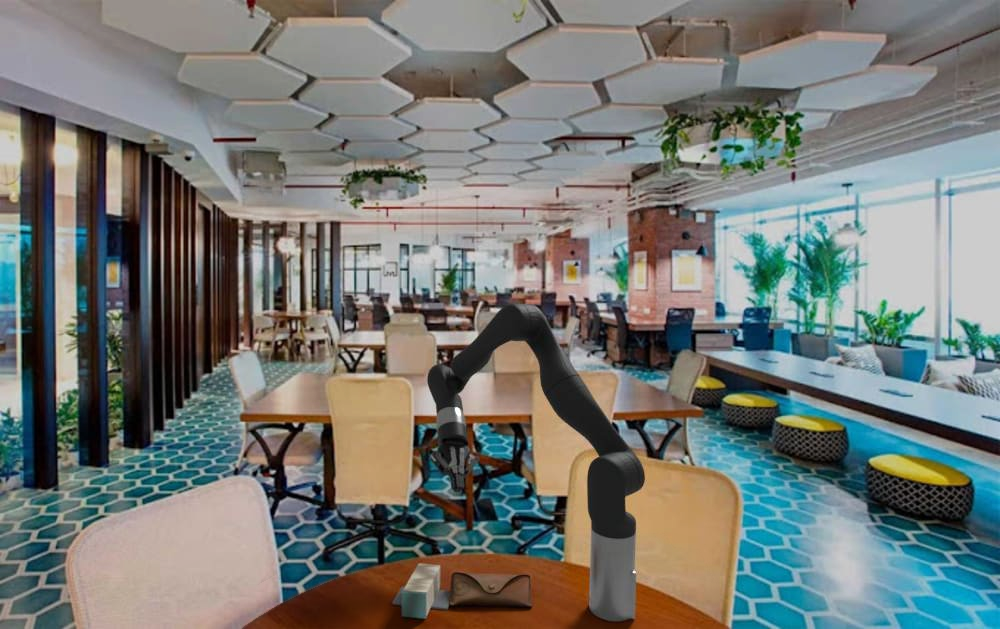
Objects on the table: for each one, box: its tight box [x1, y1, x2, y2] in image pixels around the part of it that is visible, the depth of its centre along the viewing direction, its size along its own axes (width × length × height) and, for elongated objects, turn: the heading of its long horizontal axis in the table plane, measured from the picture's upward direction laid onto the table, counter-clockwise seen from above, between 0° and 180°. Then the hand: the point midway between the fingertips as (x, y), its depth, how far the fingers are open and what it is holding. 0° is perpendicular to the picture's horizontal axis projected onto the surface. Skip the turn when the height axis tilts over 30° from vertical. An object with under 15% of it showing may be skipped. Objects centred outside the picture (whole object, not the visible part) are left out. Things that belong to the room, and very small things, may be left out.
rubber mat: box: [391, 586, 451, 611], centre depth 119 cm, size 12×6×1 cm, turn 82°
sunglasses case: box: [449, 571, 533, 608], centre depth 120 cm, size 18×7×7 cm, turn 93°
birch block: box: [401, 562, 441, 619], centre depth 117 cm, size 5×5×12 cm
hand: (458, 490), depth 129 cm, fingers closed
